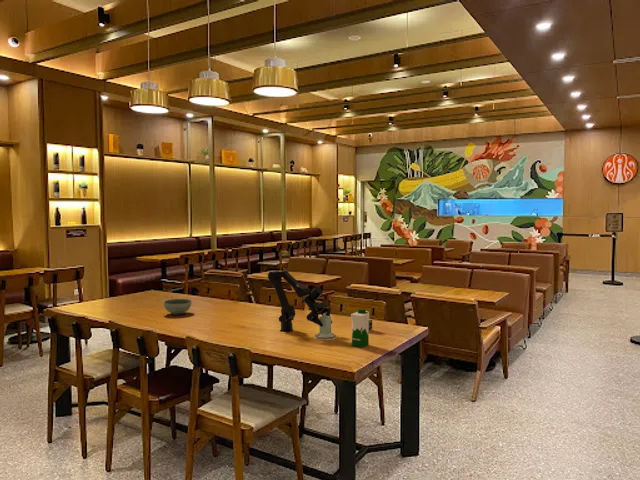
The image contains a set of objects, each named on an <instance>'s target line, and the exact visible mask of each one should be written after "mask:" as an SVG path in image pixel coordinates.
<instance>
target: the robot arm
mask: <svg viewBox="0 0 640 480" xmlns="http://www.w3.org/2000/svg"><path fill="white" fill-rule="evenodd" d="M267 279H268V280H269V282H270V284H272V286H273V287H274V289H275V293H276V295H277V298H278V300H279V304H280V306H281V309H280V313H281V315H279V317H278V322H280V330H279V331H280V332H286V333H289V332H291V331H293V330H294V329H293V327H294V326H293V322H292V321H294V318H295V316H296V309H295V306H294V305H290V302H289V300H288V298H287V296H286V292H285V290H284V286H283V283H282V281H286V283H287V284H288V285H290V287H292V288H293V289H294V292H295V294H296V296H298V298H302V299H301V304H305V305H306V306H307V307H308V311H309V313H307V315H306V316H305V317H306V320H307V321H308V322H311V323H314V324H316V325H317V326H321V327H323V324H322V322H321V321H320V319H319V317H320V316H331V312H332V308H331V307H330V306H329V301H328V300H327V299H324V300H322V301H321V302H319V301H317V300H318V299H319V298H320V297H321V295H322V294H323V292H324V291H323V289H322V288H321V287H319V286H318V285H313V286H312V288H311V289H310V288H309V287H307V286H306V285H304V284H301V283H300V282H299V281H298V280H297V279H296V278H295V277H293V276H292V275H291V273H290V272H289V271H288V270H281V271H279V270H272V271H269V272H268V274H267ZM332 324H333V321H332V319H331V325H332Z"/></svg>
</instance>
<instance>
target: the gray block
mask: <svg viewBox="0 0 640 480" xmlns="http://www.w3.org/2000/svg"><path fill="white" fill-rule="evenodd" d="M318 317H319V319H320V321H321V322H322V324H323V327H321V326H319V325H318V326H319V327H318V328H319V333H320V337H331V333H332V324H331V320H332V316H331V315H330V316H322V315H320V316H318Z"/></svg>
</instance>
